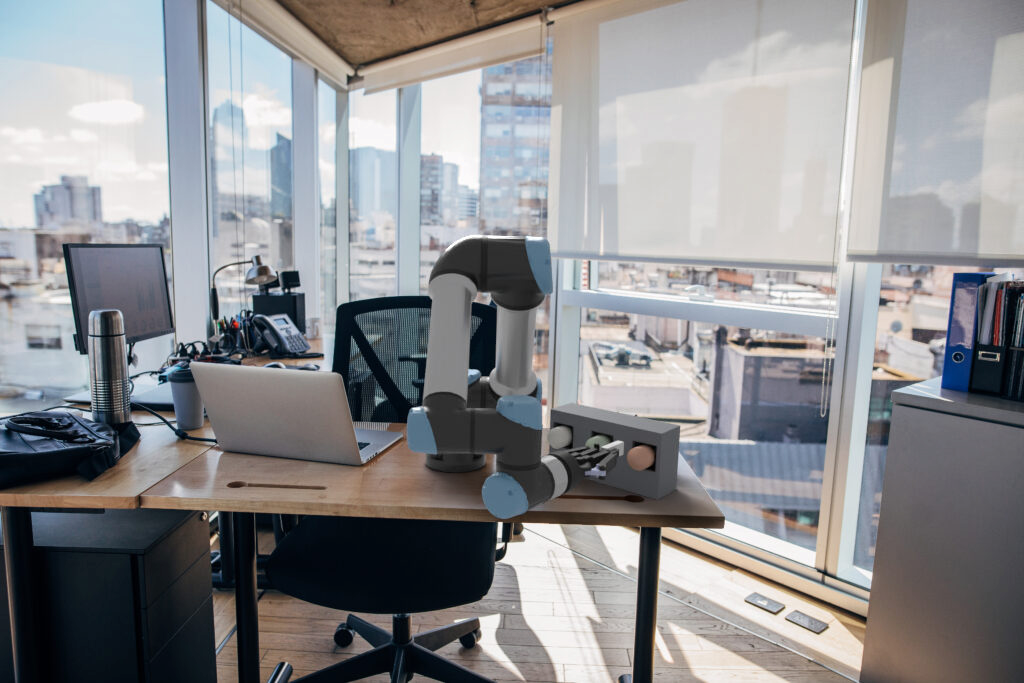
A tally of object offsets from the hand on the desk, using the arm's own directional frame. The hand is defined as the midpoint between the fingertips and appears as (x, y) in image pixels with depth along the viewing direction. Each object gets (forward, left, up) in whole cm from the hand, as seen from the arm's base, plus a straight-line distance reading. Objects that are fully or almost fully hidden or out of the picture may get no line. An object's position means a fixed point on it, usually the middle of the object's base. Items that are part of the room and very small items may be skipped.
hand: (620, 447), depth 135 cm
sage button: (+1, +16, -7) cm, 17 cm away
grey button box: (+5, +19, -14) cm, 24 cm away
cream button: (-6, +24, -7) cm, 26 cm away
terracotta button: (+8, +7, -7) cm, 13 cm away
